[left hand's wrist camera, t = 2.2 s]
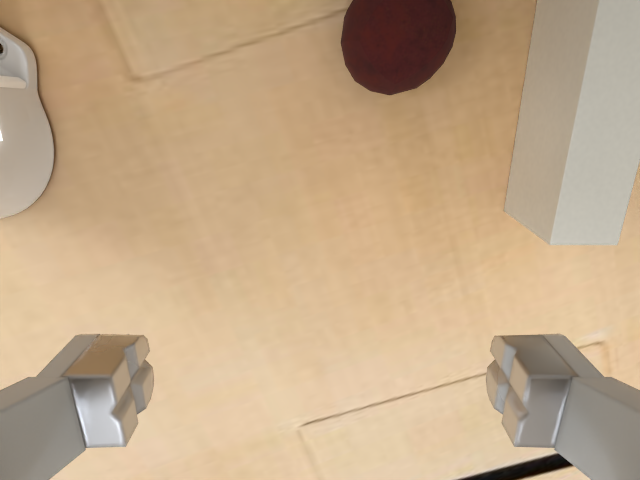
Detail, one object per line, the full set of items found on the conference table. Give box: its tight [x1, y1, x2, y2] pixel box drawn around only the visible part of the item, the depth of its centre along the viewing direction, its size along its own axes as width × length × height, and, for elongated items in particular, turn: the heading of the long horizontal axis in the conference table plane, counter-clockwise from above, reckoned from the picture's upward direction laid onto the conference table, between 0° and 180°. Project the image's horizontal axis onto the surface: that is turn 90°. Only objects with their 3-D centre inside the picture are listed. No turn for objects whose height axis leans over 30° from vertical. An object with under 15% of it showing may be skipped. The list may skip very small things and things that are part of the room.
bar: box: [504, 0, 640, 245], centre depth 29 cm, size 27×5×8 cm, turn 0°
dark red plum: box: [341, 0, 456, 95], centre depth 29 cm, size 7×8×7 cm
